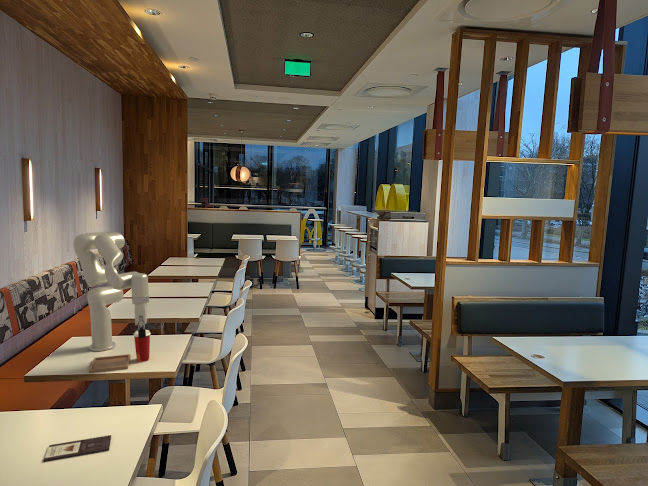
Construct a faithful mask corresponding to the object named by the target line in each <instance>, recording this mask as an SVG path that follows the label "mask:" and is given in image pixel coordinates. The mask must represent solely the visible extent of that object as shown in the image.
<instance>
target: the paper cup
mask: <svg viewBox="0 0 648 486" xmlns="http://www.w3.org/2000/svg"><path fill="white" fill-rule="evenodd" d="M145 331H146V337H145V338H139V337H138V330H136V331H135V332H134V333H133V337H134V338H133V339H134V347H135V357H136V362H139V363H143V362H144V363H145V362H148V361H150V352H151V351H150V350H151V349H150V348H151V347H150V346H151V345H150V343H151V342H150V341H151V334H152V333H151V332H150V330H148V329H147V330H145Z"/></svg>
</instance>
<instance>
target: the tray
mask: <svg viewBox="0 0 648 486" xmlns="http://www.w3.org/2000/svg"><path fill="white" fill-rule="evenodd" d="M131 356H132V355H131V354H120V355H119V354H118V355H117V354H116V355H108V356H99V357H94V359H93V360H92V363H91V365H90V367H89V368H88V372H89V373H88V374H91V373H92V374H93V373H102V372H111V371H112V372H113V371H121V370H128V369H129V366H130V361H131Z"/></svg>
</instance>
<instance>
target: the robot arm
mask: <svg viewBox="0 0 648 486" xmlns="http://www.w3.org/2000/svg"><path fill="white" fill-rule="evenodd" d="M72 245H73V249H74V253H75V254H76V257H77V258H78V260H79V263H80V265H81V269H82V273H83V276H84V281H85V283H86V284H87V286H90V287H94V286H99V287H96V288H92V289H90V290H89V291H88V292H87V295H86V299H87V303H88V307H89V315H90V317H89V318H90V330H91V333H90V334H91V344H90V345H89V346H88V349H89V351H90V352H103V351H109V350H111V349H114V348H115V347H116V345H117V344H116V342H114V341H113V333H112V332H113V331H112V328H113V327H112V314H111V311H110V309H109V308H108V307H107V306H108V305H112V304H116V303H119V302H121V301H122V300H123V298H124V291H123V290H127V289H130V290H131V303H132V305H134V325H135V326H138V327H137V328H138V330H137V331H138V337H139V338H145V337H146V331H145V330H148V328H147V327H148V326H147V321H148V304H149V303H150V294H149V278H148V274H146V273H143V272H142V273H140V272H138V271H129V272H123V273H122V272H121V273H118V270H117V269H116V268H115V266H117V265H118V264H120V263H121V262H122V260H123V259H124V253H123V252H122V250H121V249H122V248H124V246H125V245H126V241H125V237H124V236H123V234H121V233H120V232H116V231H115V232H114V231H113V232H112V231H98V232H86V233H84V232H83V233H80V234H77V235H76V236H75V237H74V239H73V244H72ZM92 250H97V251H98V252H99V254H100V255H101V257H102V258H103V260H104V261H105V265H101V263H100V260H99V257H98V255H96V254H95V252H93V251H92ZM100 285H102V286H100ZM103 285H106V286H103Z"/></svg>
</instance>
